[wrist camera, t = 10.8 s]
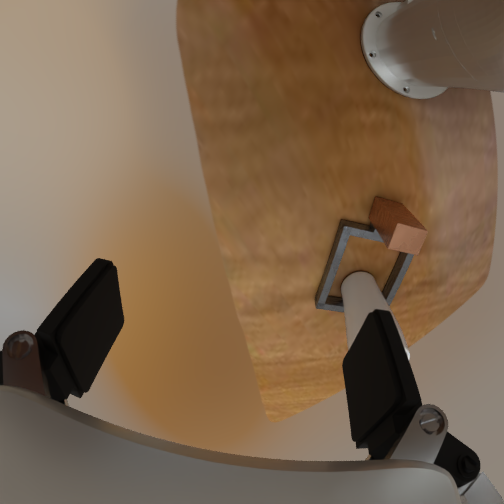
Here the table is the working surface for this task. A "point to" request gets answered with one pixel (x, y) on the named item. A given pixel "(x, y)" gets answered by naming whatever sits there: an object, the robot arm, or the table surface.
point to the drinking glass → (363, 304)
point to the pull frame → (381, 229)
